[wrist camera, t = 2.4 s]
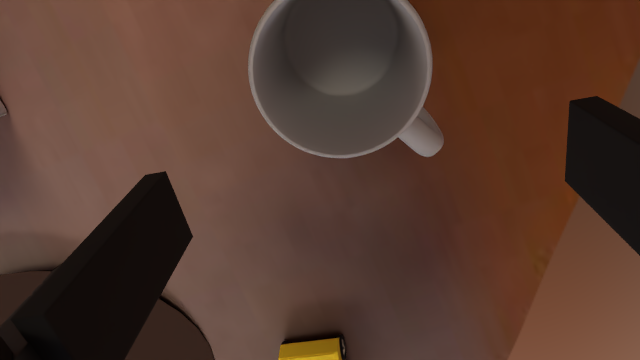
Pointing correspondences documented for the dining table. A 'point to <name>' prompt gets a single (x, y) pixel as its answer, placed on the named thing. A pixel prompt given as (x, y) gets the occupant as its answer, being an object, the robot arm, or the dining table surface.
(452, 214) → the dining table surface
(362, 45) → the mug
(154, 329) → the plate
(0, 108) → the supplement box
